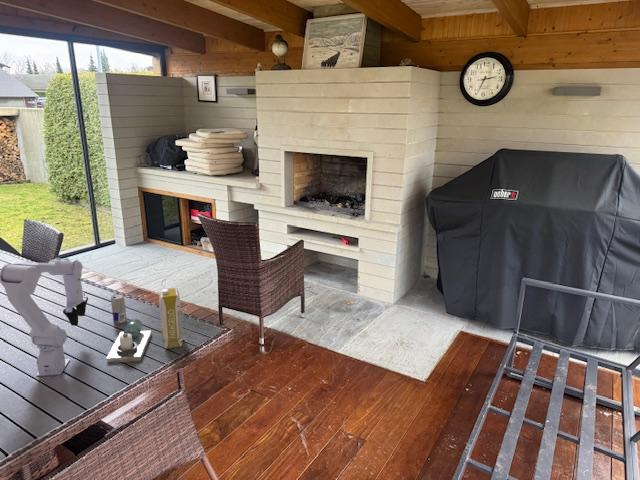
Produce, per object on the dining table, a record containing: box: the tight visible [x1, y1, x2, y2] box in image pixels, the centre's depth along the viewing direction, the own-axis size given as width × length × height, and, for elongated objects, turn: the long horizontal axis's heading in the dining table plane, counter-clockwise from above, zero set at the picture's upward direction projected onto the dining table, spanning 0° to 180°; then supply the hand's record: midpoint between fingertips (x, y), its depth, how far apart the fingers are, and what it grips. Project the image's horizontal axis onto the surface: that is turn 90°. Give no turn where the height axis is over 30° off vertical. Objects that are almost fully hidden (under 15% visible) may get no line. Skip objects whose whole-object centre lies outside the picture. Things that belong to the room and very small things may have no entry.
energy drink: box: [110, 293, 127, 324], centre depth 194 cm, size 5×5×12 cm
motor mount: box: [106, 318, 152, 363], centre depth 175 cm, size 20×12×8 cm, turn 9°
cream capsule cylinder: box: [119, 333, 133, 351], centre depth 170 cm, size 4×4×7 cm
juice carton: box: [158, 287, 184, 349], centre depth 177 cm, size 9×8×24 cm
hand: (78, 320), depth 175 cm, fingers open, 7 cm apart
